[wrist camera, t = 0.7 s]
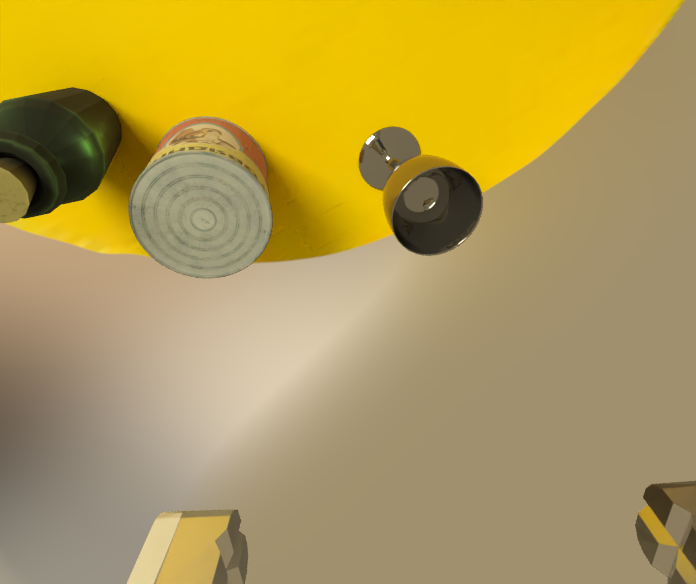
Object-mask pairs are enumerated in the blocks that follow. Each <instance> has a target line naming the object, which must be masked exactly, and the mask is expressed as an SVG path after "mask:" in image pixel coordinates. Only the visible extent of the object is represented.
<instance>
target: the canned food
mask: <svg viewBox="0 0 696 584" xmlns="http://www.w3.org/2000/svg"><path fill="white" fill-rule="evenodd" d="M267 179H268V173H267V165H266V161H265V158H264V155H263V153H262V151H261V149H260V147H259V146H258V144H257V143H256V141H255V140H254V139H253V138H252V137H251V136H250V135H249V134H248V133H247V132H246V131H245V130H243V129H242V128H241V127H239V126H237V125H236V124H234V123H232V122H230V121H227V120H224V119H221V118H216V117H208V116H205V117H194V118H190V119H187V120H184V121H182V122H180V123H178V124H177V125H175V126H174V127H172V128H171V129H170V130H169V131H168V132H167V133H166V134H165V136H164V137H163V138H162V140H161V142H160V144H159V146H158V148H157V150H156V152H155V154H154V155H153V157H152V158H151V160H150V162H149V163H148V165H147V167H146V168H145V170H144V171H143V172H142V173H141V174H140V176H139V177H138V179H137V180H136V182H135V184H134V186H133V188H132V191H131V194H130V199H129V219H130V223H131V227H132V229H133V232H134V234H135V236H136V238H137V240H138V241H139V243H140V244H141V246H142V247H143V248H144V250H145V251H146V252H147V253H148V254H149V255H150V256H151V257H152V258H153V259H155V260H156V261H157V262H159V263H160V264H162V265H163V266H165V267H166V268H168V269H171V270H173V271H175V272H177V273H180V274H183V275H187V276H191V277H196V278H218V277H224V276H228V275H231V274H234V273H237V272H239V271H241V270H243V269H245V268H246V267H248V266H249V265H251V264H252V263H253V262H254V261H255V260H256V259H257V258H258V257H259V256H260V255H261V254H262V252H263V251H264V249H265V248H266V246H267V244H268V242H269V239H270V236H271V232H272V225H273V217H272V209H271V205H270V199H269V190H268V181H267Z"/></svg>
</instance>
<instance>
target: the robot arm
mask: <svg viewBox="0 0 696 584" xmlns="http://www.w3.org/2000/svg"><path fill="white" fill-rule="evenodd" d="M643 498H644V500H645V501H646V502H647V504H648V505H647V506H646V507H645V508H644V509H642V510H641V511H640V512H639V513H638V516H637V520H636V524H635V527H636V532H637V537H638V541H639V543H640V546H641V548H642V550H643V553H644V554H645V556H646V557H647V559H648V561H649V562H650V564H651V565H652V566H653V567H654V568H656V569H657V570H658V571H660V572H661V573H663V574H664V575H665V576H667V577H668V584H696V481H686V482H672V483H659V484H651V485H650V486H648V487H647V488H646V489H645V492H644V496H643ZM240 523H241V519H240V515H239V513H238V510H206V511H178V512H162V513H161V514H160V515H159V516H158V518H157V519H156V520H155V521H154V523H153V525H152V528H151V530H150V532H149V535H148V537H147V539H146V541H145V543H144V546H143V548H142V550H141V552H140V555H139V557H138V559H137V562H136V564H135V566H134V568H133V571H132V573H131V575H130V577H129V579H128V582H127V584H245V580H246V574H247V564H248V548H247V541H246V537H245V535H244V534H242V533H241V532H240V531H239V528H240Z"/></svg>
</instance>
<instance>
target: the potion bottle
mask: <svg viewBox="0 0 696 584" xmlns="http://www.w3.org/2000/svg"><path fill="white" fill-rule="evenodd" d="M120 141H121V125H120V122H119V120H118V118H117V116H116V113H115V111H114V110H113V109H112V108H111V107H110V106H109V105H108V104H107V103H106V102H105V100H104V99H102V98H100V97H99V96H97V95H95V94H93V93H92V92H90V91H88V90H83V89H78V88H73V87H72V88H67V89H61V90H56V91H50V92H45V93H40V94H34V95H29V96H24V97H19V98H14V99H9V100H4V101H2V102H1V103H0V223H9V222H13V221H17V220H19V219H20V218H29V217H34V216H39V215H44V214H48V213H50V212H52V211H53V210H54V209H56V208H57V207H58V206H60V205H61V204H66V203H71V202H75V201H80V200H84V199H85V198H86V197H87V196H89V195H90V194H91V193H93V192H94V191H95V190H97V189H98V187H99V185H100V183H101V181H102V179H103V177H104V175H105V173H106V171H107V169H108V167H109V165H110V163H111V160H112V158H113V156H114V154H115V152H116V150H117V148H118V146H119V144H120Z"/></svg>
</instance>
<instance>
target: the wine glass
mask: <svg viewBox="0 0 696 584" xmlns="http://www.w3.org/2000/svg"><path fill="white" fill-rule="evenodd" d="M359 169H360V172H361V175H362V177H363V179H364V180H365V181H366V182H367V183H368V184H369V185H370V186H371V187H373V188H375V189H378V190H383V207H384V212H385V216H386V219H387V222H388V224H389V226H390V228H391V230H392V232H393V233H394V235H395V237H396V238H397V240H398V241H399V242H400V243H401V244H402V246H403V247H405V248H406V249H407V250H409V251H411V252H413V253H416V254H419V255H426V256H431V255H438V254H442V253H446V252H448V251H450V250H452V249H454V248H456V247H457V246H459V245H460V244H462V243H463V242H464V241H465V240H466V239H467V238H468V237H469V236H470V235H471V234H472V232H473V231H474V229H475V228H476V226H477V224H478V222H479V220H480V217H481V214H482V208H483V197H482V191H481V189H480V186H479V184H478V183H477V182H476V180H475V179H474V178H473V177H472V176H471V175H470V174H469V173H468V172H467V171H465V170H464V169H463V168H461V167H460V166H458V165H457V164H455V163H453V162H452V161H449V160H447V159H444V158H441V157H438V156H432V155H421V152H420V147H419V144H418V142H417V140H416V138H415V137H414V135H412V134H411V133H410V132H409V131H407V130H405V129H403V128H400V127H387V128H383V129H381V130H378V131H377V132H375V133H374V134H372V135H371V136H370V137H369V138H368V139H367V141H366V142H365V143H364V145H363V147H362V149H361V152H360V156H359Z"/></svg>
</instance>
